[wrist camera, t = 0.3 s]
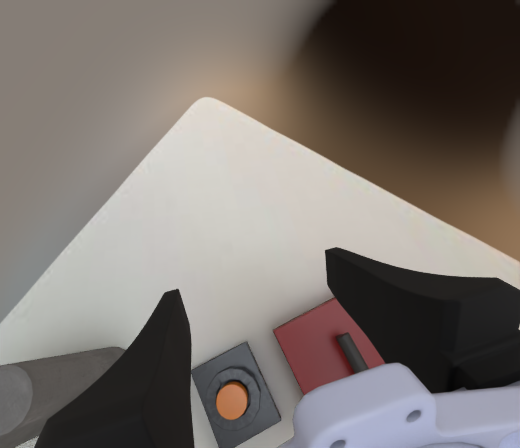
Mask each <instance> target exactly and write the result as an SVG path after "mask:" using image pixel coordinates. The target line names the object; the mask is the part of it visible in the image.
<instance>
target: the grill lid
mask: <svg viewBox="0 0 520 448" xmlns="http://www.w3.org/2000/svg"><path fill="white" fill-rule="evenodd" d="M273 332H274V334H275V336H276V338H277V340H278V342H279V344H280V346H281V348H282V350H283V353H284V355H285V357H286V359H287V361H288V363H289V365H290V367H291V369H292V371H293V373H294V376H295V378H296V380H297V382H298V384H299V386H300V388H301V390H302V392H303V394H304V396H305V394H307V393H308V392H310V391H312V390H314V389H316V388H317V387H319V386H322V385H325V384H328V383H331V382H334V381H336V380H339V379H342V378H345V377H348V376H351V375H354V374H357V373H359V372H362V371H365V370H368V369H371V368H374V367H377V366H380V365H382V364H385V362H384V361H383V359H382V358H381V356H380V355H379V353H378V352H377V350H376V349H375V347H374V346H373V344H372V343H371V341H370V340H369V339H368V337H367V336H366V335H365V333H364V332H363V331H362V330H361V329H360V327H359V326H358V325H357V324H356V323H355V322H354V320H353V319H352V318H351V317H350V316H349V314H348V313H347V312H346V311H345V310H344V308H343V307H342V306H341V305H340V303H339V302H338V301H337V299H336V298H334V299H333V300H331V301H329V302H327V303H325V304H323V305H321V306H319V307H317V308H316V309H314V310H312V311H310V312H308V313H306V314H304V315H302V316H300V317H299V318H297V319H295V320H293V321H291V322H289V323H287V324H285V325H283V326H282V327H280V328H278V329H276V330H274V331H273Z"/></svg>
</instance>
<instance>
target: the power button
mask: <svg viewBox="0 0 520 448" xmlns="http://www.w3.org/2000/svg"><path fill="white" fill-rule="evenodd" d="M247 403H248V394H247V391H246V389H245V387H244V386H243V385H242V384H240V383H238V382H229V383H227V384H225V385H224V386H223V387H222V388H221V390H220V391H219V393H218V395H217V398H216V406H217V410H218V412H219V413H220V415H221V416H222V417H224V418H225V419H228V420H234V419H237V418H239V417H240V416H241V415H242V414H243V413H244V412H245V410H246V407H247Z"/></svg>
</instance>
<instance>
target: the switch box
mask: <svg viewBox="0 0 520 448" xmlns="http://www.w3.org/2000/svg"><path fill="white" fill-rule="evenodd" d="M191 374H192V377H193V379H194V382H195V385H196V387H197V390H198V393H199V395H200V398H201V401H202V403H203V406H204V409H205V411H206V414H207V417H208V419H209V422H210V425H211V427H212V430H213V433H214V435H215V438H216V441H217V443H218V446H219V448H234V447H236V446H238V445H239V444H241V443H243V442H245V441H246V440H248V439H250V438H252V437H253V436H255V435H257V434H259V433H260V432H262V431H264V430H265V429H267V428H269V427H271V426H272V425H274V424H276V423H278V422H279V421H281V417H280V414H279V412H278V410H277V408H276V405H275V403H274V401H273V399H272V397H271V394H270V392H269V390H268V388H267V385H266V383H265V381H264V379H263V376H262V374H261V372H260V370H259V367H258V365H257V363H256V361H255V358H254V356H253V354H252V352H251V349H250V347H249V345H248V343H247V341H246V342H244V343H242V344H240V345H238V346H236V347H234V348H233V349H231V350H229V351H227V352H225V353H223V354H221V355H219V356H217V357H216V358H214V359H212V360H210V361H208V362H206V363H204V364H202V365H200V366H199V367H197V368H195V369H193V370H191ZM229 382H238V383H240V384H242V385H243V386H244V387H245V389H246V391H247V394H248V403H247V407H246V410H245V412H244V413H243V414H242V415H241V416H240V417H239V418H237V419H234V420H228V419H225V418H224V417H222V416H221V415H220V413H219V412H218V410H217V406H216V398H217V395H218V393H219V391H220V390H221V388H222V387H223V386H224V385H225V384H227V383H229Z"/></svg>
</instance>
